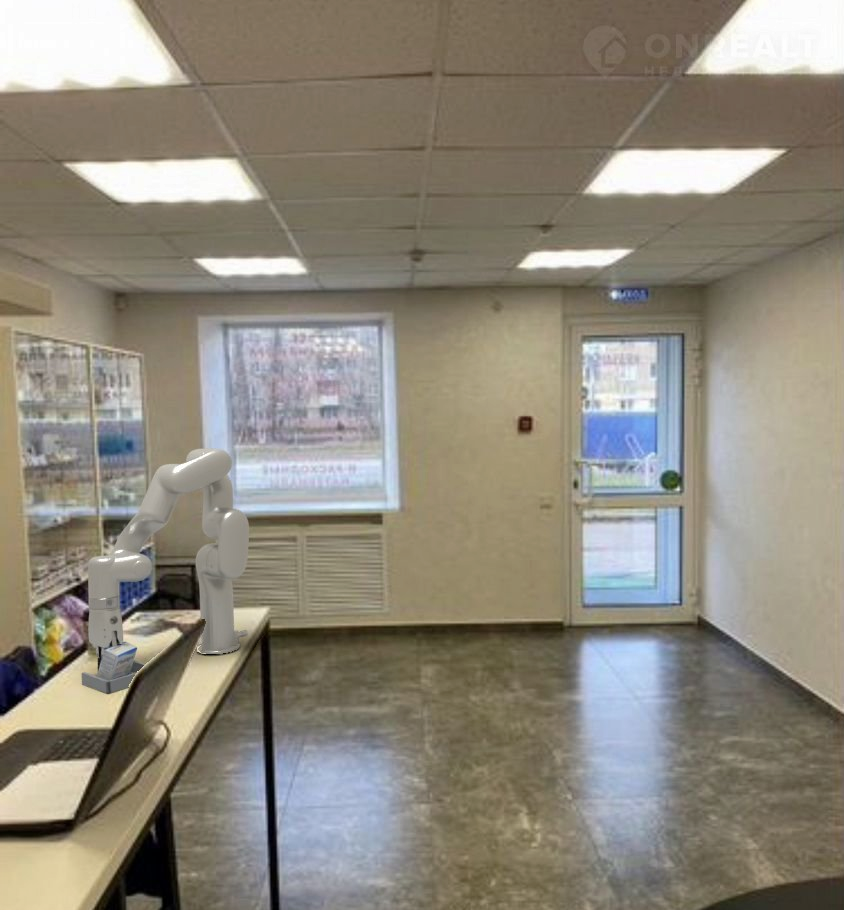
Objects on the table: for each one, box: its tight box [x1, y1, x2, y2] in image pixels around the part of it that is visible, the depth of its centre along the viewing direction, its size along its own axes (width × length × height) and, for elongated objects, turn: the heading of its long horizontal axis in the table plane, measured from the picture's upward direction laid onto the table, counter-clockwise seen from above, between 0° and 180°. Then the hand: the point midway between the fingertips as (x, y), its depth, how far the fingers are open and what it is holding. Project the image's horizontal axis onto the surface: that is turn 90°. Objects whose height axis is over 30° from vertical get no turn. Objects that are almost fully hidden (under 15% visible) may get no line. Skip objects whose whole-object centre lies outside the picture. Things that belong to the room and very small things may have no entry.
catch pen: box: [81, 659, 146, 695], centre depth 188 cm, size 14×13×3 cm
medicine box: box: [96, 641, 138, 681], centre depth 188 cm, size 8×4×9 cm, turn 164°
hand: (105, 671), depth 190 cm, fingers closed
